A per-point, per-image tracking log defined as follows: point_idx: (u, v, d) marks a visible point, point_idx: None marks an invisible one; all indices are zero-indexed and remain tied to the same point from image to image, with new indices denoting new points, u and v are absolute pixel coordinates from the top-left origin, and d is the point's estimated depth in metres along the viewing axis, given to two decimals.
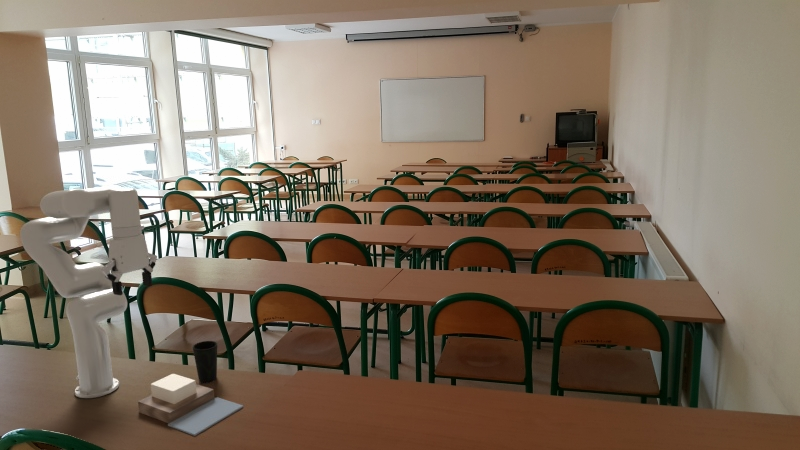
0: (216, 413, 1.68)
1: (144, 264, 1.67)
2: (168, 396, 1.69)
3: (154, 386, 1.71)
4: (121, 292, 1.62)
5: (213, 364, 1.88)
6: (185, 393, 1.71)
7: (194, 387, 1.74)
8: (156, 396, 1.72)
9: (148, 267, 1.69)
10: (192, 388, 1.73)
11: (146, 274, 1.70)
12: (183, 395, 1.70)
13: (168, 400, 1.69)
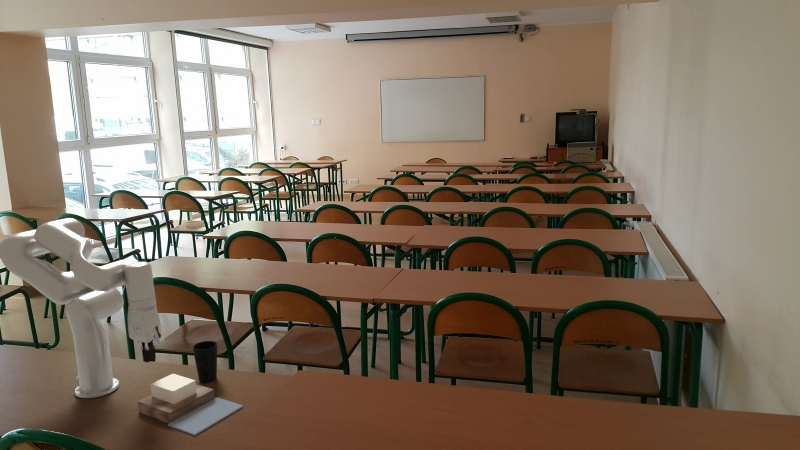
0: (216, 413, 1.68)
1: None
2: (168, 396, 1.69)
3: (154, 386, 1.71)
4: None
5: (213, 364, 1.88)
6: (185, 393, 1.71)
7: (194, 387, 1.74)
8: (156, 396, 1.72)
9: None
10: (192, 388, 1.73)
11: None
12: (183, 395, 1.70)
13: (168, 400, 1.69)
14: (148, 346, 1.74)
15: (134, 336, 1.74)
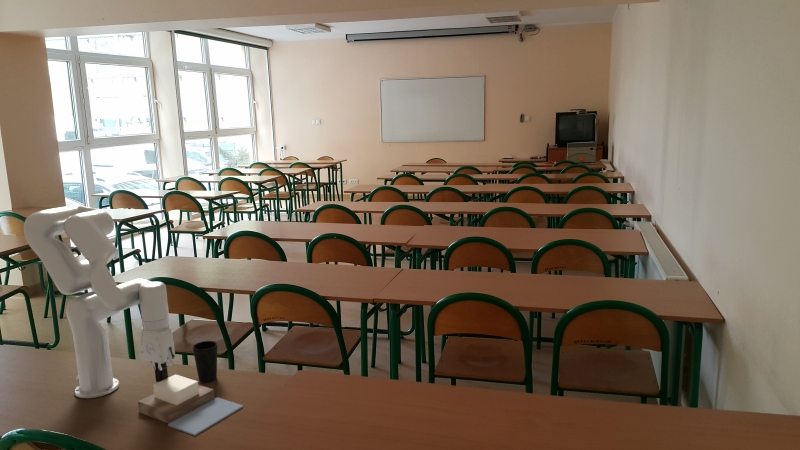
0: (216, 413, 1.68)
1: None
2: (170, 397, 1.68)
3: (156, 387, 1.71)
4: None
5: (213, 364, 1.88)
6: (187, 394, 1.70)
7: (196, 388, 1.73)
8: (158, 397, 1.71)
9: None
10: (194, 389, 1.72)
11: None
12: (185, 396, 1.70)
13: (170, 401, 1.68)
14: (161, 367, 1.73)
15: (147, 356, 1.73)
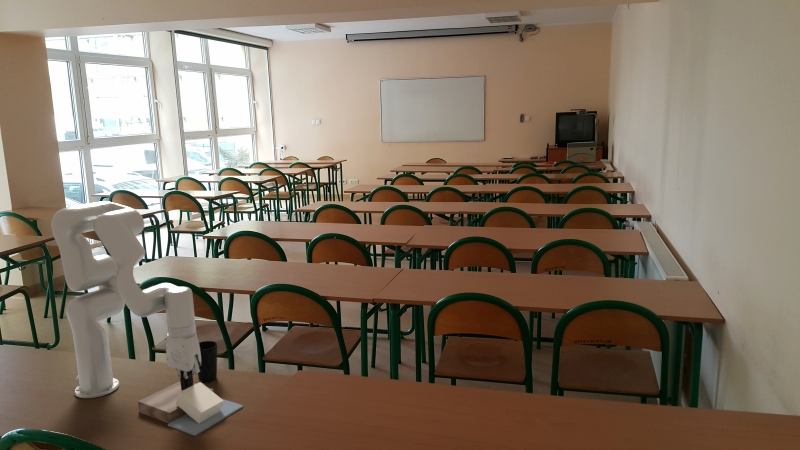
0: None
1: None
2: (194, 413, 1.63)
3: (181, 397, 1.65)
4: None
5: (213, 364, 1.88)
6: (211, 412, 1.65)
7: (220, 406, 1.68)
8: (180, 406, 1.65)
9: None
10: (218, 407, 1.67)
11: None
12: (209, 415, 1.65)
13: (193, 417, 1.63)
14: (187, 374, 1.67)
15: (172, 364, 1.67)
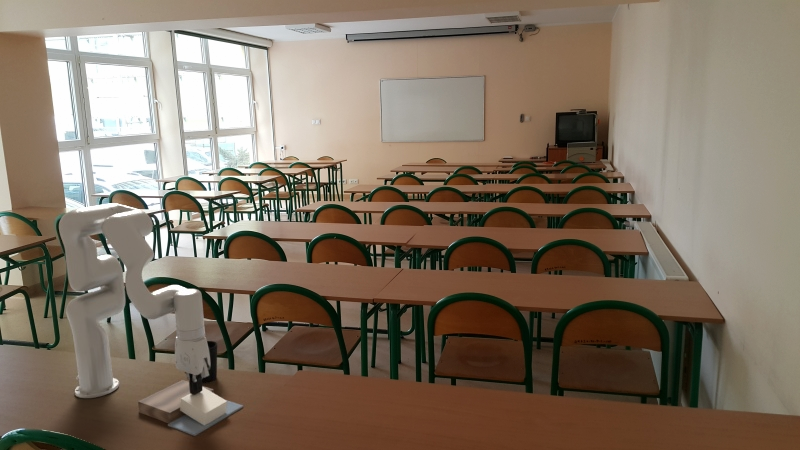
0: None
1: None
2: (198, 416, 1.62)
3: (184, 402, 1.64)
4: None
5: (213, 364, 1.88)
6: (215, 414, 1.64)
7: (225, 408, 1.67)
8: (185, 412, 1.65)
9: None
10: (223, 408, 1.67)
11: None
12: (213, 416, 1.64)
13: (198, 420, 1.62)
14: (196, 378, 1.65)
15: (181, 367, 1.65)
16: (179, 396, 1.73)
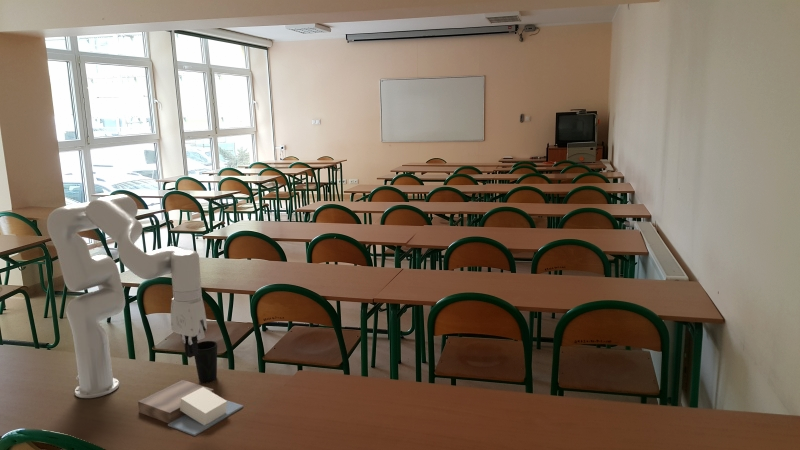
0: None
1: None
2: (198, 416, 1.62)
3: (184, 402, 1.64)
4: None
5: (213, 364, 1.88)
6: (215, 414, 1.64)
7: (225, 408, 1.67)
8: (185, 412, 1.65)
9: None
10: (223, 408, 1.67)
11: None
12: (213, 416, 1.64)
13: (198, 420, 1.62)
14: (192, 340, 1.63)
15: (177, 329, 1.63)
16: (179, 396, 1.73)
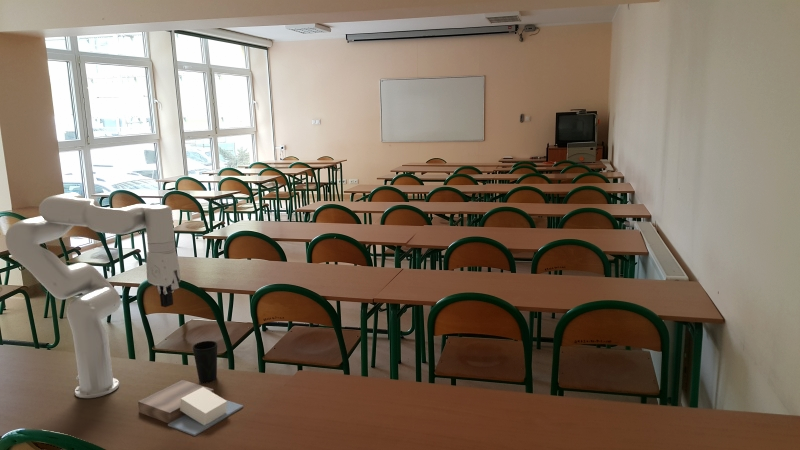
0: None
1: None
2: (198, 416, 1.62)
3: (184, 402, 1.64)
4: None
5: (213, 364, 1.88)
6: (215, 414, 1.64)
7: (225, 408, 1.67)
8: (185, 412, 1.65)
9: None
10: (223, 408, 1.67)
11: None
12: (213, 416, 1.64)
13: (198, 420, 1.62)
14: (166, 290, 1.73)
15: (152, 280, 1.73)
16: (179, 396, 1.73)
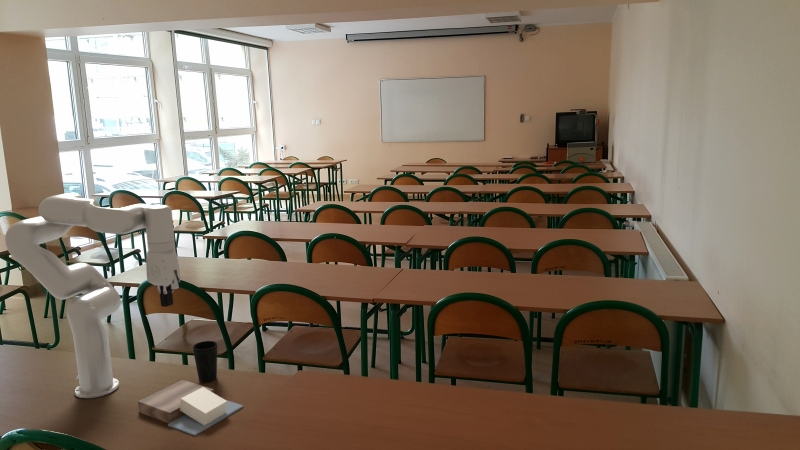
0: None
1: None
2: (198, 416, 1.62)
3: (184, 402, 1.64)
4: None
5: (213, 364, 1.88)
6: (215, 414, 1.64)
7: (225, 408, 1.67)
8: (185, 412, 1.65)
9: None
10: (223, 408, 1.67)
11: None
12: (213, 416, 1.64)
13: (198, 420, 1.62)
14: (166, 290, 1.73)
15: (152, 280, 1.73)
16: (179, 396, 1.73)
